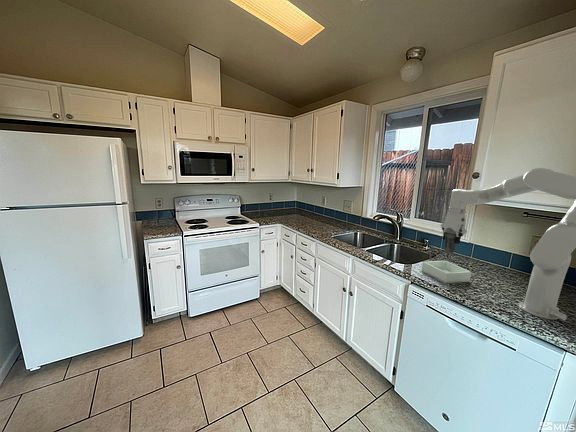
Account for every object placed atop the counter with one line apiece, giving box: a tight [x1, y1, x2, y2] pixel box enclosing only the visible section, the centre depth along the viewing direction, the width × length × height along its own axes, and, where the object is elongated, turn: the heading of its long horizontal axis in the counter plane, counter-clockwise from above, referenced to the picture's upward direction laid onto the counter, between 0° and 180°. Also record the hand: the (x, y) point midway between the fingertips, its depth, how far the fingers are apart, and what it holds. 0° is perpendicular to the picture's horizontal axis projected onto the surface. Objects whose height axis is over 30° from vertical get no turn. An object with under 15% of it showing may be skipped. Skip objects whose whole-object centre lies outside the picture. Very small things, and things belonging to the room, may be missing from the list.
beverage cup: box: [443, 228, 459, 254], centre depth 135 cm, size 7×7×20 cm
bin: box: [421, 260, 472, 284], centre depth 139 cm, size 17×17×6 cm
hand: (450, 241), depth 135 cm, fingers closed on beverage cup, 6 cm apart
